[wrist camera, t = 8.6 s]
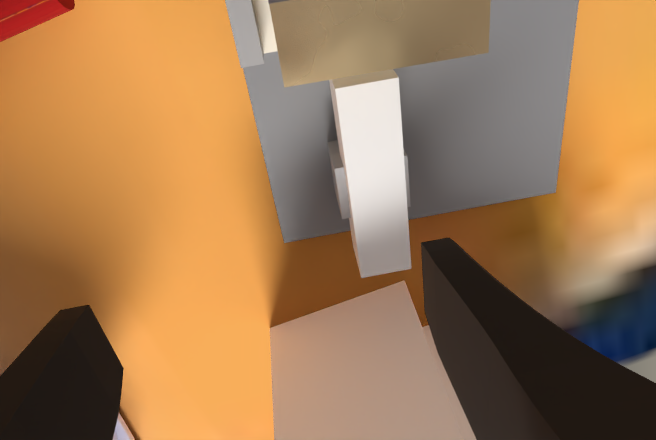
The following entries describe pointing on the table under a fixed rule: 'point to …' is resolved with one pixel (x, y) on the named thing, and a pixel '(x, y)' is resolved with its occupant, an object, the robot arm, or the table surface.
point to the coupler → (373, 35)
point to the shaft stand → (411, 130)
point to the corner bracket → (363, 374)
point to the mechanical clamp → (28, 14)
